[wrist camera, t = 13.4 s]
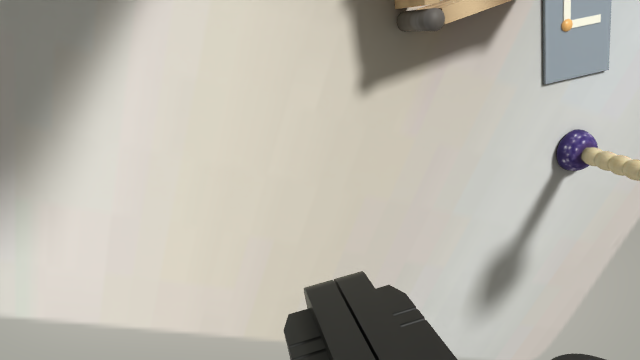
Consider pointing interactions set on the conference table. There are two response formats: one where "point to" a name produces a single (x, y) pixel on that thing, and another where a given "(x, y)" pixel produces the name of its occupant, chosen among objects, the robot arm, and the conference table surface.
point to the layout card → (575, 38)
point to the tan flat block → (413, 3)
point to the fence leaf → (442, 14)
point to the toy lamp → (593, 156)
